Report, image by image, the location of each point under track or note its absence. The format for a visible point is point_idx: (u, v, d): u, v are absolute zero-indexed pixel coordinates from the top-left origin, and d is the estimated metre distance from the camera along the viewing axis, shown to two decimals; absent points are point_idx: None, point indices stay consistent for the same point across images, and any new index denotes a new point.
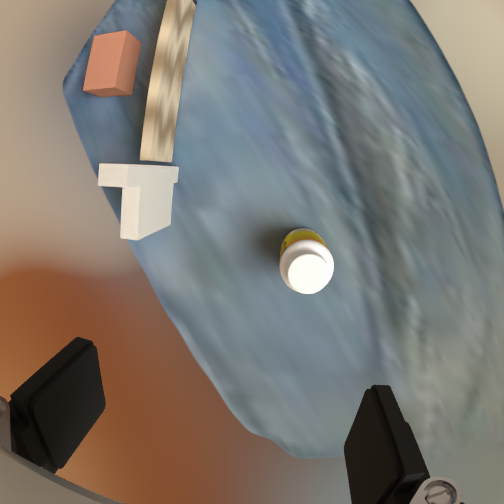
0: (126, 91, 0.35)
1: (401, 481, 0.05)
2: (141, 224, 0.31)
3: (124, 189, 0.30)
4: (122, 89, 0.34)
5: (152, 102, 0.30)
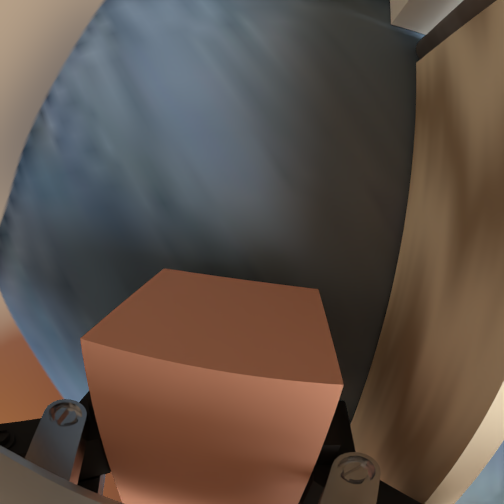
0: None
1: None
2: None
3: None
4: None
5: None
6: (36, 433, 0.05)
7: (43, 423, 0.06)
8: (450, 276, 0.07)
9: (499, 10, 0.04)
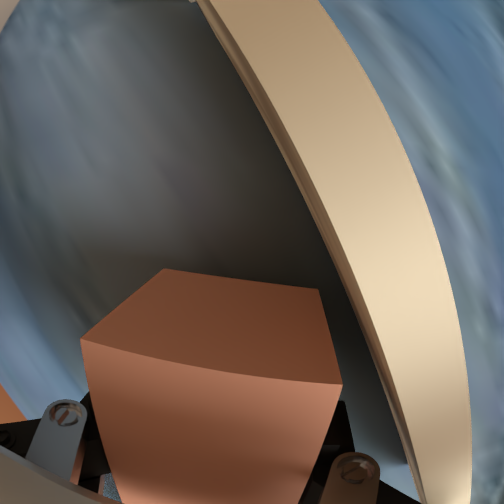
0: None
1: None
2: None
3: None
4: None
5: None
6: (36, 433, 0.05)
7: (43, 423, 0.06)
8: (318, 218, 0.07)
9: None
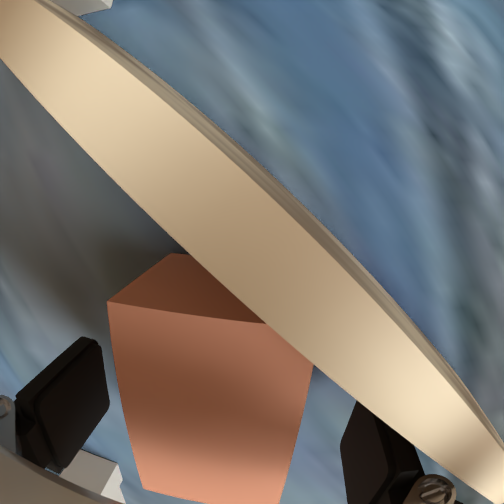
0: None
1: (395, 478, 0.05)
2: None
3: None
4: None
5: (457, 435, 0.04)
6: None
7: None
8: None
9: None
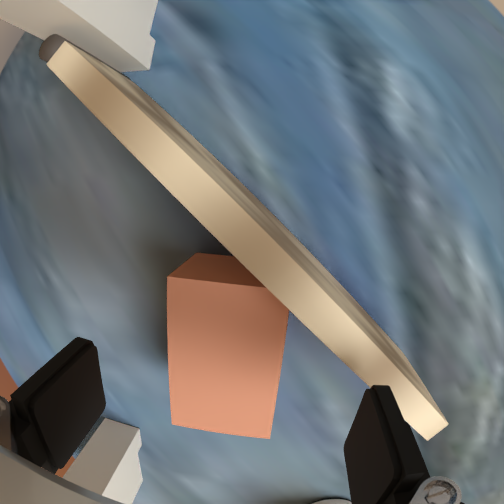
0: None
1: (401, 481, 0.05)
2: None
3: None
4: None
5: (363, 353, 0.10)
6: None
7: None
8: None
9: None
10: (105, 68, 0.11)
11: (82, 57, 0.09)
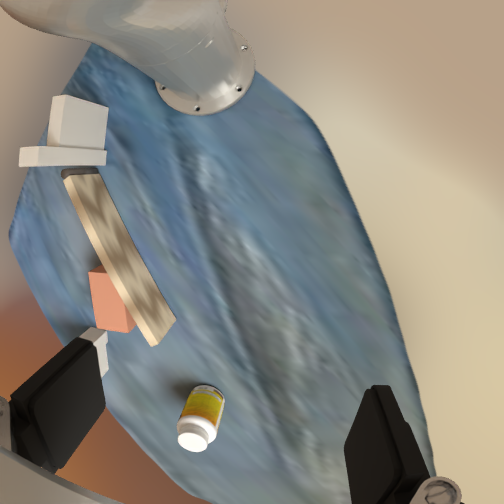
0: None
1: (401, 481, 0.05)
2: None
3: None
4: (134, 325, 0.41)
5: (127, 299, 0.35)
6: None
7: None
8: None
9: None
10: (83, 182, 0.35)
11: (74, 186, 0.32)
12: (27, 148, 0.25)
